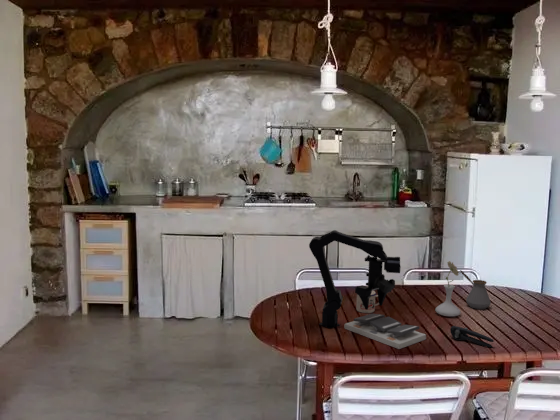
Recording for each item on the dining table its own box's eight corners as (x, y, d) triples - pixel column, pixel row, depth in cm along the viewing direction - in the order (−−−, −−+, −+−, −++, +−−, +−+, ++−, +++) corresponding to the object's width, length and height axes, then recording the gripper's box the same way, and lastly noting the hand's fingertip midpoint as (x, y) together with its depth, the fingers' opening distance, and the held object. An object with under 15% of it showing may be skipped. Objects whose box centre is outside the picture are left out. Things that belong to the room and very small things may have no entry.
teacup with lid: (359, 313, 252) (360, 289, 251) (353, 307, 261) (354, 284, 260) (383, 313, 254) (384, 288, 253) (377, 307, 263) (378, 283, 262)
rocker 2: (382, 331, 221) (383, 329, 220) (369, 324, 226) (370, 321, 225) (401, 325, 228) (401, 323, 228) (388, 318, 233) (388, 316, 233)
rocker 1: (366, 322, 227) (365, 320, 227) (353, 321, 233) (353, 318, 233) (384, 317, 235) (384, 314, 235) (372, 315, 240) (372, 313, 240)
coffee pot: (495, 309, 263) (497, 279, 261) (475, 311, 260) (478, 280, 258) (467, 297, 283) (469, 269, 281) (448, 298, 280) (450, 270, 278)
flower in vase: (461, 319, 247) (465, 265, 244) (435, 317, 249) (439, 264, 246) (458, 310, 260) (461, 259, 257) (433, 309, 262) (436, 258, 259)
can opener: (446, 339, 223) (447, 325, 222) (454, 334, 228) (454, 321, 227) (489, 351, 211) (490, 337, 210) (496, 346, 216) (497, 332, 215)
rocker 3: (400, 335, 214) (400, 332, 214) (387, 333, 219) (386, 330, 219) (419, 328, 221) (419, 326, 221) (405, 326, 227) (405, 324, 227)
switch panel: (398, 349, 210) (399, 340, 210) (344, 328, 232) (344, 320, 232) (425, 339, 221) (426, 331, 221) (371, 320, 244) (371, 313, 243)
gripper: (375, 278, 217) (373, 316, 219) (404, 272, 229) (402, 308, 231) (354, 273, 226) (353, 309, 228) (383, 267, 238) (382, 301, 240)
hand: (373, 307), depth 231 cm, fingers open, 9 cm apart
